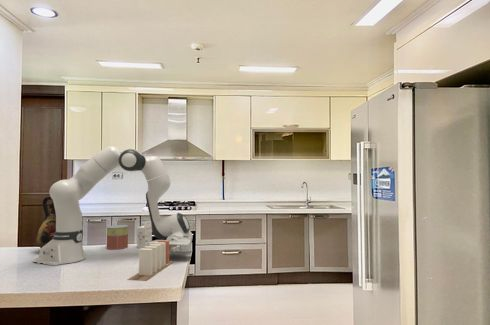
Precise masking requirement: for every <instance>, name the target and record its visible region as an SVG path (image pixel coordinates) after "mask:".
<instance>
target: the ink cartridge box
mask: <svg viewBox="0 0 490 325" xmlns="http://www.w3.org/2000/svg"><path fill="white" fill-rule="evenodd" d="M136 241H137V242H136V245H137V246H136V248H137V249H141V248H142V249H144V247H146V246H148V242H151V241H153V233H152V225H151V219H149V220H147V221H144V223H143V225H141V226H137V227H136Z"/></svg>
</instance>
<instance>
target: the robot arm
mask: <svg viewBox="0 0 490 325" xmlns="http://www.w3.org/2000/svg"><path fill="white" fill-rule="evenodd" d="M117 167H121V169H123V170H124V171H127V172H136V171H137V172H138V171H141V172H142V174H143V176H144V177H145V181H146V183H147V191H146V193H145V199H146V200H145V201H146V205H147V210H148V214H149V218H150V219H149V220H151V225H152V236H154V237H155V238H156V239H155V240H152V241H151V242H148V246H149V245H150V244H153V243H154V242H157V241H159V240H166V241H169V253H173V254H176V253H180V252H184V253H187V252H190V251H192V247H193V242H192V241H193V233H192V231H191V230H190V224H189V223H190V222H189V220H188V218H187V217H186V216H185V214H182V213H180V212H177V213H174V214H172V215H169V216H165V217H164V218H162V217H161V215H160V210H159V205H158V202H159V200H160V198H161V197H162V196H163V195H165V193H166V192H168V190H169V188H170V186H171V179H170V175H169V173H168V171H167V168H166V167H165V164H164V163H163V161H162V160H161V158H160V157H158V156H155V155H152V156H148V157H146V156H145V155H144V154H143V153H142V152H141V151H140V150H138V149H133V148H132V149H131V148H129V149H125V150H123V151H122V150H120V149H119V148H118V147H117V146H115V145H109V146H106V147H104V148H103V149H101V150H100V151H98V152H97V153H96V154H94V155H93V156H92V157H90V158H89V159H88V160H87V161H86V162H84V163H83V164H82V165H81V166H80V167H79V169H78V170H77V171H76V173H75V174H74V175H73V176H71V177H70V178H67V179H60V180H58V181H56V182H55V183H53V184H52V185H51V186H50V188H49V196H51V198H52V199H53V200H52V203H54V207H55V212H56V231H55V232H54V233H51V234H52V235H53V238H52V240H51V241H50V242H48V243H47V244H46V245H45V246H43V247H42V248H40V250H39V253H38V257H36V258H34V259H33V260H32V263H33V262H37V263H36V264H40V263H43V264H42V265H49V266H58V265H64V264H71V263H76V262H80V261H83V260H84V259H86V257H85V252H84V248H83V247H84V246H83V239H84V238H83V237H84V230H83V212H82V210H81V207H80V200H82V199H83V198H84V197H85V196H86V195H87V194H89V192H90V191H91V190H92V189H93V188H94V187H95V186H96V185H97V184H98V183H99V182H100V181H101V180H102V179H104V178H105V177H107V175H108V174H109V173H111V172H112V171H113V170H115V169H116V168H117ZM52 235H51V236H52Z"/></svg>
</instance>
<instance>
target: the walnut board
mask: <svg viewBox="0 0 490 325" xmlns="http://www.w3.org/2000/svg"><path fill="white" fill-rule="evenodd" d="M174 263H175V262H174V261H169V264H166V266H164V267H161V269H157V272H153V274H152V275H139V272H138V273H136V274H133V275H132V276H131V277H129V278H128V279H127V281H139V282H147V281H149V280H150V279H152V278H153V277H155V276H156V275H157V274H159V273H160V272H162V271H164V270H165V269H167V268H168V267H169V266H171V265H172V264H174Z"/></svg>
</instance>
